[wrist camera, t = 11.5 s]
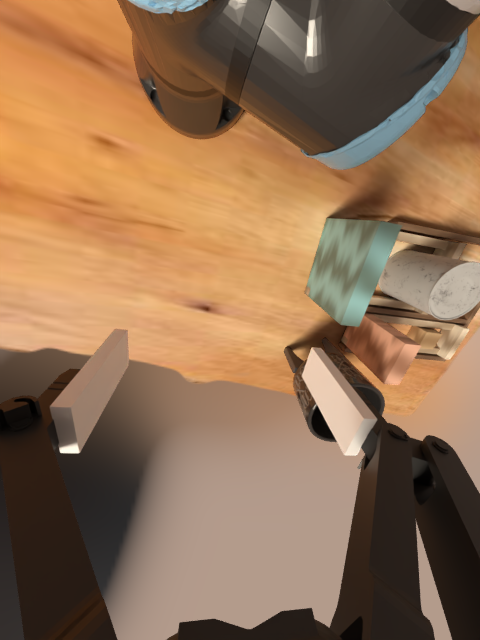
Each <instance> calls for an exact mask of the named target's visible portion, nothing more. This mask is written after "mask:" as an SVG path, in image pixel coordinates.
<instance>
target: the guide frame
mask: <svg viewBox="0 0 480 640" xmlns="http://www.w3.org/2000/svg"><path fill="white" fill-rule="evenodd" d="M388 222H389V223H393V224H398V225H402V227H401V230H405V231H410V232H415V233H420V234H425V235H430V236H436V237H441V238H446V239H451V240H456V241H461V242H466V243H471V244H476V245H480V238H477V237H472V236H467V235H462V234H458V233H453V232H448V231H443V230H438V229H433V228H428V227H423V226H418V225H413V224H409V223H404V222H399V221H388ZM479 308H480V301H479V303H478V304H477V305H476V306H475V307H474V308H473V309H471V310H470V311H469V312H467V313H466V314H464V315H462V316H460V317H458V318H455V319H452V320H440V319H437V318H435V317H434V316H432V315H430V314H428V315H426V314H421V313H419V312H417V311H415V310H409V309H401V308H394V307H386V306H379V305H371V304H369V305H368V307H367V309H366V311H367V312H375V313H383V314H391V315H399V316H407V317H415V318H423V319H430V320H438V321H446V322H454V323H457V324H460V325H462V326H464V327H466V328H467V326H468V325H469V323H470V322H471V320H472V319H473V317H474V316H475V314H476V313H477V311H478V309H479ZM339 347H340V348H341V349H342V350H343V351H344V352H350V353H353V352H352V351H351V350H350V349H349V348H348V347H347V346H346V345H345V344H344V343H342V342H340V344H339ZM415 358H416V359H427V360H438V361H446V359H444V358H442V357H440V356H439V355H437V354H429V353H419V352H418V353H417V354H416V356H415Z"/></svg>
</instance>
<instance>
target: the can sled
mask: <svg viewBox="0 0 480 640" xmlns="http://www.w3.org/2000/svg"><path fill="white" fill-rule="evenodd" d="M401 227H402V225H398V224H393V223H389V222H384V221H372V220H353V219H334V218H327V219H326V222H325V225H324V229H323V232H322V236H321V239H320V242H319V246H318V249H317V252H316V256H315V259H314V263H313V266H312V269H311V273H310V276H309V280H308V283H307V286H306V290H305V294H306V295H307V296H309V297H310V298H311V299H312V300H313V301H314V302H315V303H316V304H318V305H319V306H320V307H321V308H322V309H323V310H324V311H325V312H327V313H328V314H329V315H330V316H331V317H332V318H333V319H334V320H336V321H337V322H338V323H339V324H340V325H346V326H355V327H359V326H360V323H361V321H362V319H363V316H364V314H365V312H366V309H367V307H368V305H369V304H371V305H379V306H386V307H394V308H401V309H409V310H415V311H417V312H419V313H421V314H426V315H428V313H426V312H424V311H422V310H420V309H417V308H415V307H413V306H411V305H409V304H407V303H405V302H403V301H401V300H398V299H396V298H390V297H383V296H376V295H373V293H374V291H375V288H376V286H377V284H378V281H379V279H380V277H381V274H382V272H383V270H384V267H385V265H386V263H387V260H388V258H389V255H390V253H391V251H392V248H393V246H394V244H395V241H400V242H406V243H411V244H416V245H422V246H427V247H432V248H436V249H435V251H434V253H433V255H437V256H442V257H447V258H453V259H459V257H460V256H461V254H462V252H463V250H464V248H465V246H466V245H467V244H464V243H458V242H450V241H445V240H440V239H435V238H429V237H424V236H419V235H414V234H409V233H404V232H400V230H401Z"/></svg>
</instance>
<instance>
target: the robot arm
mask: <svg viewBox="0 0 480 640" xmlns="http://www.w3.org/2000/svg"><path fill="white" fill-rule="evenodd" d="M117 1H118V3H119V5H120V7H121V9H122V11H123V13H124V15H125V18H126V20H127V22H128V24H129V26H130V28H131V30H132V44H133V55H134V61H135V66H136V70H137V73H138V77H139V80H140V82H141V85H142V87H143V89H144V92H145V94H146V96H147V97H148V99H149V101H150V103H151V104H152V106H153V108H154V109H155V111H156V112H157V113H158V115H159V116H160V117H161V118H162V119H163V121H164V122H165V123H166V124H168V125H169V126H170V127H171V128H172V129H174V130H175V131H177V132H179V133H180V134H182V135H185V136H187V137H190V138H195V139H209V138H214V137H217V136H219V135H221V134H223V133H224V132H226V131H227V130H229V129H230V128H231V127H232V126H233V125H234V124H235V123H236V122H237V120H238V119H239V118H240V116H241V114H242V113H243V111H244V110H246V111H247V112H249V113H250V114H251V115H253V116H254V117H256V118H257V119H259V120H260V121H262V122H263V123H264V124H266V125H267V126H269V127H270V128H272V129H273V130H274V131H276V132H277V133H279V134H280V135H282V136H283V137H285V138H286V139H287V140H289V141H290V142H292V143H293V144H295V145H296V146H298V147H299V148H300V149H301V152H302V153H303V154H304V155H305V156H307V157H310V158H312V159H316V160H318V161H320V162H321V163H323V164H324V165H326V166H328V167H329V168H332V169H338V170H346V169H350V168H354V167H356V166H359V165H361V164H363V163H365V162H367V161H369V160H370V159H372V158H374V157H375V156H377V155H378V154H380V153H381V152H382V151H384V150H385V149H386V148H388V147H389V146H390V145H391V144H393V143H394V142H395V141H396V140H397V139H399V138H400V137H401V136H402V135H403V134H404V133H405V132H406V131H407V130H409V129H410V128H411V127H412V126H413V125H414V124H415V123H416V121H417V120H418V119H419V118H420V117H421V116H422V115H423V114H424V113H425V110H426V108H425V106H426V105H427V104H428V103H430V102H431V101H432V100H434V99H435V98H437V97H438V96H439V95H440V94H441V93H442V91H443V90H444V89H445V87H446V86H447V85H448V83H449V82H450V80H451V79H452V77H453V75H454V74H455V72H456V70H457V68H458V66H459V64H460V62H461V60H462V58H463V56H464V54H465V50H466V47H467V32H468V26H469V25H470V24H471V23H472V22H473V21H474V20H475V19H476V18H477V17H478V16H479V15H480V0H117ZM128 365H129V353H128V330H121V329H115V330H114V331H113V332H112V333H111V334H110V336H109V337H108V338H107V339H106V340H105V342H104V343H103V344H102V345H101V346H100V347H99V349H98V350H97V351H96V352H95V353H94V355H93V356H92V357H91V358H90V359H89V360H88V362H87V363H86V364H85V365H84V366H83V368H82V369H69V370H68V371H66V372H64V373H63V374H61V375H60V376H59V377H58V378H57V379H56V380H55V381H54V382H53V384H51V385H50V386H49V387H48V389H47V390H46V391H45V392H44V393H43V394H42V395H41V396H40V397H39V398H38V399H37V398H36V397H33V396H20V397H15V398H12V399H9V400H7V401H5V402H3V403H1V404H0V481H1V480H3V484H4V491H5V499H6V506H7V513H8V521H9V528H10V536H11V543H12V551H13V558H14V565H15V572H16V580H17V587H18V594H19V602H20V609H21V616H22V624H23V632H24V638H25V640H117V637H116V634H115V631H114V628H113V625H112V622H111V619H110V616H109V613H108V610H107V607H106V605H105V602H104V599H103V597H102V595H101V592H100V589H99V587H98V583H97V581H96V577H95V574H94V571H93V568H92V565H91V562H90V559H89V556H88V553H87V550H86V547H85V544H84V541H83V538H82V535H81V532H80V529H79V525H78V522H77V519H76V517H75V513H74V511H73V507H72V504H71V501H70V498H69V495H68V492H67V489H66V486H65V483H64V480H63V477H62V474H61V471H60V468H59V465H58V462H57V459H56V455H55V452H54V450H55V448H56V447H57V446H58V445H59V449H60V452H61V453H80V451H81V449H82V447H83V446H84V444H85V442H86V440H87V439H88V437H89V435H90V433H91V431H92V429H93V428H94V426H95V424H96V422H97V421H98V419H99V417H100V415H101V413H102V412H103V410H104V408H105V406H106V404H107V403H108V401H109V399H110V397H111V396H112V394H113V392H114V390H115V388H116V386H117V385H118V383H119V381H120V379H121V377H122V376H123V373H124V372H125V370H126V369H127V367H128ZM302 378H303V380H304V381H305V383H306V385H307V387H308V389H309V391H310V393H311V394H312V396H313V398H314V400H315V402H316V404H317V406H318V407H319V409H320V411H321V413H322V415H323V417H324V419H325V420H326V422H327V424H328V426H329V428H330V430H331V432H332V433H333V435H334V437H335V439H336V441H337V443H338V445H339V446H340V448H341V450H342V452H343V454H344V455H357V454H358V453H359V451H360V449H361V448H362V449H363V451H364V453H365V456H364V458H363V459H362V461H361V462H360V464H359V466H358V469H360V468H361V472H360V478H359V484H358V490H357V496H356V502H355V507H354V513H353V519H352V525H351V531H350V537H349V543H348V549H347V554H346V560H345V566H344V572H343V578H342V584H341V589H340V595H339V601H338V605H337V608H336V611H335V614H334V617H333V619H332V622H331V626H330V628H328V627H327V626H326V625H324V624H322V623H321V622H319V621H317V620H315V619H314V615H313V611H312V608H307V609H299V610H289V611H282V612H280V613H278V614H276V615H275V616H273V617H271V618H270V619H268V620H266V621H265V622H263V623H262V624H260V625H258V626H256V627H255V628H253V629H244V628H241V627H238V626H235V625H232V624H229V623H226V622H223V621H220V620H216V619H208V620H198V621H189V622H181V623H179V629H178V633H177V634H175V635H173V636H171V637H169V638H168V639H167V640H435V638H434V632H433V628H432V625H431V623H430V621H429V620H428V619H427V618H426V617H425V616H424V615H423V613H422V610H421V602H420V585H419V568H418V552H417V535H416V521H417V525H418V528H419V531H420V534H421V538H422V541H423V544H424V548H425V551H426V554H427V558H428V560H429V564H430V567H431V570H432V574H433V577H434V581H435V584H436V587H437V590H438V594H439V597H440V600H441V604H442V607H443V610H444V614H445V617H446V620H447V623H448V627H449V630H450V633H451V637H452V640H480V493H479V492H478V490H477V488H476V487H475V485H474V483H473V481H472V480H471V478H470V476H469V474H468V473H467V471H466V469H465V467H464V466H463V464H462V462H461V461H460V459H459V457H458V455H457V454H456V452H455V451H454V450H453V448H452V447H451V446H450V445H448V444H447V443H446V442H445V441H443V440H441V439H439V438H437V437H435V436H430V435H428V436H426V437H425V439H424V440H423V441H420V440H416V439H413V438H410V437H409V436H408V435H407V433H406V432H404V431H403V430H402V429H401V428H399V427H398V426H396V425H393V424H390V423H387V422H386V421H385V419H384V418H383V417H382V416H381V414H380V413H379V412H378V411H377V410H376V408H375V407H374V406H373V405H372V404H371V402H370V401H369V400H367V398H366V396H365V395H364V394H363V393H362V392H361V391H360V390H359V389H357V388H356V387H355V386H351V385H350V384H349V383H348V381H347V380H346V379H345V378H344V376H343V375H342V374H341V373H340V371H339V370H338V369H337V367H336V366H335V365H334V364H333V362H332V361H331V360H330V359H329V357H328V356H327V355H326V354H325V352H324V351H323V350H322V349H321V348H316V347H312V348H311V351H310V354H309V356H308V359H307V362H306V365H305V368H304V371H303V374H302ZM415 518H416V519H415Z"/></svg>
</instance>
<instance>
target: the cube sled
mask: <svg viewBox="0 0 480 640" xmlns="http://www.w3.org/2000/svg"><path fill="white" fill-rule="evenodd" d="M387 323H395V324H403V325H412V326H420V327H429V328H437V329H442V330H441V332H440V333H441V334H442V336H441V337H440V339H439V341H438V342H437V344H436V346H435V347H434V349H433V350H432V349H423V348H421V345H420V344H418V343H417V342H415V341H414V340H412V339H410V338H409V337H407V336H406V335H404V334H403V333H401V332H400V331H398V330H396V329H395V328H393V327H392V326H390V325H389V324H387ZM469 330H470V329H468V328H466V327H464V326H462V325H460V324H457V323H454V322H446V321H438V320H430V319H423V318H415V317H407V316H399V315H391V314H383V313H375V312H367V311H366V312H365V314H364V316H363V319H362V321H361V323H360V326H359V327H355V326H347V328H346V330H345V333H344V335H343V338H342V340H341V341H342V342H343V343H344V344H345V345H346V346H347V347H348V348H349V349H350V350H351V351H352V352H353V353H354V354H355V355H356V356H357V357H358V358H359V359H360V360H361V361H362V362H363V363H364V364H365V365H366V366H367V367H368V368H369V369H370V370H371V371H372V372H373V373H374V374H375V375H376V376H377V377H378V378H379V379H380V380H381V381H382V382H383V383H384V384H393V385H399V384H400V382H401V381H402V379H403V377H404V375H405V374H406V372H407V370H408V368H409V367H410V365H411V363H412V361H413V360H414V358H415V356H416V354H417V353H418V352H419V353H429V354H437V355H439V356H440V357H442V358H444V359H449V360H450V359H451V357H452V356H453V354H454V353H455V351H456V350H457V348H458V347H459V345H460V343H461V342H462V340H463V339H464V337H465V336H466V334H467V333H468V331H469Z"/></svg>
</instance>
